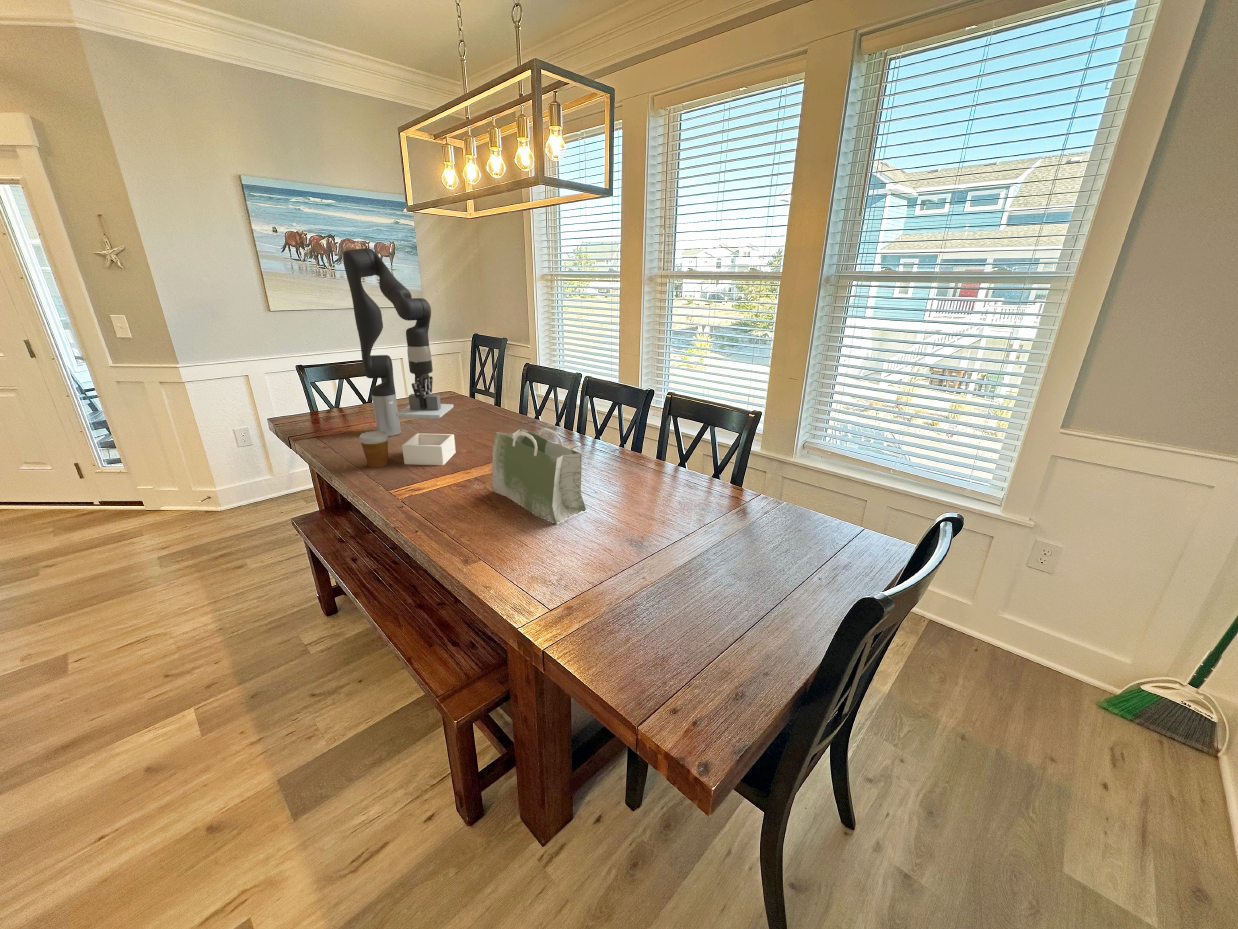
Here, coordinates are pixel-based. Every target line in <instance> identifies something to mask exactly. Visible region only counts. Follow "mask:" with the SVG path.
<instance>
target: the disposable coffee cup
mask: <svg viewBox="0 0 1238 929" xmlns="http://www.w3.org/2000/svg"><path fill="white" fill-rule="evenodd" d="M389 438H390V436H388V435H387V433H386V432H384V431H377V430H372V431H366V432H363V433H361V434H360V435H359V438H358V441H359V442H360V444H361V447H362V451H363V453H364V457H365V460H366V463H367V466H368V467H369V468H372V469H373V468H375V469H377V468H382V467H386V466H387V465H388V464H389Z"/></svg>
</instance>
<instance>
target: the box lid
mask: <svg viewBox="0 0 1238 929" xmlns="http://www.w3.org/2000/svg"><path fill="white" fill-rule="evenodd" d="M407 397H408V403H409V405H407V406H406V407H404V408H403V409H401V410H399V411H398V413H396V417H399V418H404V419H405V418H406V419H433V420H434V419H436V420H437V419H440V418H441V417H443V416H444V415H445V414H446V413H448V412H449V411H450V410H451V409H453V408H454V403H453V404H451V403H448V404H447V403H441V394H432V393H430V394H426V404H427V408H426V409H421V408H420V403H419V398H416V397H415V394H414V393H410V394H409V395H408V396H407Z"/></svg>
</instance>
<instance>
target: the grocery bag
mask: <svg viewBox="0 0 1238 929" xmlns="http://www.w3.org/2000/svg"><path fill="white" fill-rule="evenodd" d="M545 432H546V433H549V434H551V435H553V436H554V437H556V439H557V441H558V443H556V442H553V441H551V440H548V439H546V438H544V437H542V436H541V435H542V433H545ZM491 459H492V462H491V463H492V464H491V465H492V466H491V467H492V468H491V479H492V490H493V492H494V493H496V494H499V495H501V496H504V497H505V496H506V498H508V499H509V500H512V501H513V503H515V504H517V503H518V504H517V505H518V506H520V505H521V507H522V508H523V507H524V508H523V509H525V508H526V509H527V510H526V509H525V510H526V511H528V510H529V511H531V512H532V513H531V512H530V513H531V514H533V513H534V514H535V515H534V514H533V515H534V516H536V515H537V516H539V517H538V518H540V517H542V518H545V519H546V520H549V521H551V522H553V523H555V524H557V522H560V521H561V520H564V519H565V518H569V517H570V516H572V515H574V514H578V513H579V512H581V511H585V510H587V509H586V505H585V502H584V499H583V496H582V493H581V492H582V453H581V452H579V451H576V450H574V449H572V448H571V447H570V448H569V447H567V446H565V445H564V443H563V441H562V438H561V436H559V435H558V433H557V432H556V431H554V430H552V429H549V428H546V427H544V428H541V429H539V431H538V433H537V434H536V433H534V432H531V431H528V430H526V429H522V428H520V429H518V430H517V431H515V432H514V433H507V432H506V433H505V432H498V431H497V432H495V436H494V441H493V447H492V458H491ZM529 511H528V512H529ZM537 516H536V517H537ZM542 518H541V519H542ZM546 520H545V521H546ZM549 521H548V522H549ZM551 522H550V523H551ZM553 523H552V524H553ZM555 524H554V525H555ZM557 525H558V524H557Z"/></svg>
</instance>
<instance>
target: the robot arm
mask: <svg viewBox="0 0 1238 929" xmlns="http://www.w3.org/2000/svg"><path fill="white" fill-rule="evenodd" d="M342 262H343V266H344V267H343V268H344V270H345V275H346V279H347V281H348V282H347V283H348V286H349V290H350V293H351V294H350V295H351V300H352V306H353V312H354V313H353V314H354V319H355V325H356V330H357V334H358V338H359V343H360V351H361V353H360V354H361V361H362V368H363V369H362V370H363V373H364V376H365V377H366V378H367V379H384V380H383V381H382V382H381V383H380V384H377V385H374V386H372V387H371V388H370V395H371V400H372V408H373V413H374V420H375V426H376V431H384V432H386V433H387V435H388V436H389V437H393V436H397V435H400V434H401V423H400V417H396V413H398V412H399V408H398V402H397V394H396V393H397V392H396V387H395V380H394V367H393V360H392V358H391V357H390V355H388V354H378V355H376V354H375V355H374V354H373V355H371V354H372V350H373V347H374V345H375V344H376V341H377V340H378V338H379V337H380V335H381V334H382V331H383V330H384V329H383V328H384V321H383V314H382V310H381V309H380V307H379V305H378V304H377V302H375V301H374V299H372V297H371V296H369V294H368V293H367V292H366V290H365V289H364V287H363V284H362V278H368V277H373V276H377V277H379V279H378V280H379V282H378V284H379V290H380V292H381V293H382V295H383V296H384V297H385V298H386V299H387V300H388V301H390V302H391V304H392V305H393V308H394V309H395V311H396V314H397V315H398V316H399V318H401V320H404V321H416V322H415V325H413V326H411V327H409V328H407V329H405V330H406V331H405V338H406V339H405V340H406V345H407V361H408V368H409V372H410V373H411V374H413V375H414V382H412V383H411V387H412V391H413V394H415V397H416V398H419V403H420V408H421V409H426V408H427V404H426V394H432V393H433V380H434V379H433V376H430V374H431V373H433V362H432V360H433V359H432V353H431V348H430V340H429V329H430V323H431V322H430V321H431V318H432V307H431V304H430V303H429V302H428V300H427V299H426V298H424V297H423V298H422V297H416V298H415V297H413V298H412V293H411V291H410V290H409V289H408V288H407V287H406V286H405V285H403V284H402V283H401V282H400V280H398V279H397V278H396V277H395V276H394V275H393V273H392V272H391V271H390V269H389V267H388V266H387V265H386V264H385V263H384V262H385V261H383V259H382V258H381V257H380V256H379V254H378V253H377V252H376V251H375V250H373V249H372V248H369V247H368V248H367V247H365V248H363V247H362V248H356V249H354V248H353V249H347V250H345V251H343V253H342Z"/></svg>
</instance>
